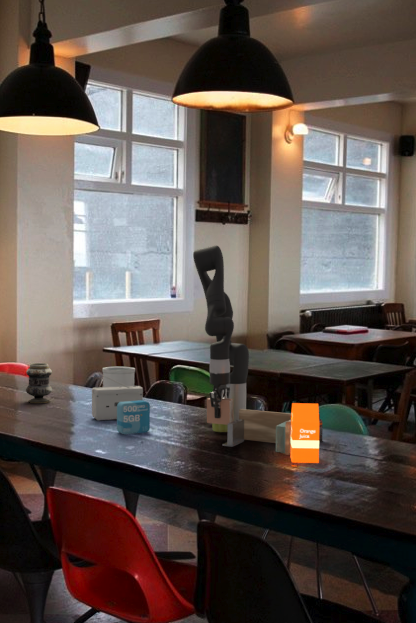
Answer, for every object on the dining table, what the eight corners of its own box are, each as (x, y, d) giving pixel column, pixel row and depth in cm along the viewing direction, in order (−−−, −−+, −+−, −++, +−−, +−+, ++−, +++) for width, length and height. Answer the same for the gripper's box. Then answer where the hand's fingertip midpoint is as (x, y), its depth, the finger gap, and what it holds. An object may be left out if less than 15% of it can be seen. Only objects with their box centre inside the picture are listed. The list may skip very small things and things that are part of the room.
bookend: (233, 440, 306) (234, 418, 306) (244, 441, 305) (244, 419, 304) (222, 445, 298) (222, 423, 297) (232, 446, 296) (232, 424, 295)
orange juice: (290, 460, 281) (291, 401, 280) (316, 461, 281) (317, 401, 280) (291, 466, 273) (292, 405, 272) (319, 466, 273) (320, 405, 272)
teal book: (286, 446, 298) (286, 421, 297) (295, 447, 296) (295, 422, 295) (275, 451, 289) (275, 425, 288) (285, 453, 287) (285, 426, 287)
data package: (121, 434, 321) (121, 403, 320) (116, 432, 325) (116, 401, 324) (149, 432, 327) (150, 401, 326) (145, 430, 331) (145, 399, 330)
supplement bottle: (323, 443, 309) (324, 412, 308) (320, 446, 303) (321, 415, 303) (307, 442, 311) (308, 411, 310) (304, 445, 305) (304, 414, 305)
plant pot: (238, 433, 325) (238, 411, 325) (222, 437, 318) (222, 414, 318) (220, 430, 331) (220, 408, 331) (204, 433, 325) (204, 411, 324)
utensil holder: (117, 402, 396) (117, 365, 395) (141, 405, 387) (141, 367, 386) (95, 406, 384) (95, 368, 383) (120, 410, 375) (120, 371, 374)
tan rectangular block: (211, 420, 316) (211, 397, 315) (233, 422, 312) (233, 398, 311) (206, 422, 312) (206, 398, 311) (229, 424, 308) (229, 400, 308)
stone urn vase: (49, 404, 389) (49, 365, 388) (23, 403, 389) (23, 365, 388) (54, 399, 401) (54, 362, 400) (29, 399, 401) (28, 362, 400)
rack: (240, 441, 310) (240, 408, 310) (304, 448, 299) (304, 414, 299) (221, 450, 296) (221, 415, 295) (288, 457, 285) (288, 422, 284)
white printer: (139, 415, 362) (139, 369, 361) (144, 419, 354) (144, 371, 353) (91, 418, 356) (91, 371, 354) (95, 421, 348) (95, 373, 347)
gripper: (218, 367, 319) (218, 412, 320) (202, 373, 306) (202, 419, 307) (236, 368, 316) (236, 414, 317) (221, 374, 303) (221, 421, 304)
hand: (220, 416), depth 312 cm, fingers closed on tan rectangular block, 4 cm apart
